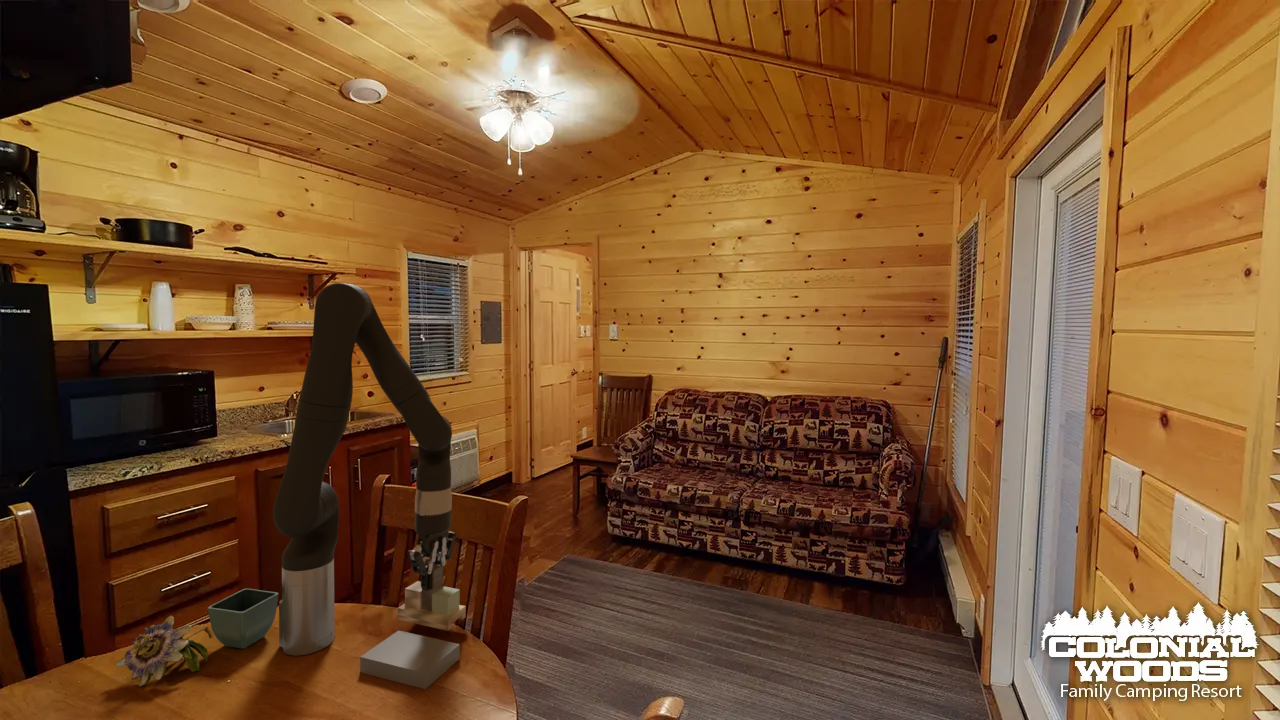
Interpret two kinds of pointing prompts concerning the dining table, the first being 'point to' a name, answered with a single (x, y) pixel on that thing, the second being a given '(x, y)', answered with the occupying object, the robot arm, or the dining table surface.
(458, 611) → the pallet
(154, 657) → the passion flower
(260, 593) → the flower pot
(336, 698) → the dining table surface
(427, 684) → the dock
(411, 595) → the cream block
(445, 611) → the green block
